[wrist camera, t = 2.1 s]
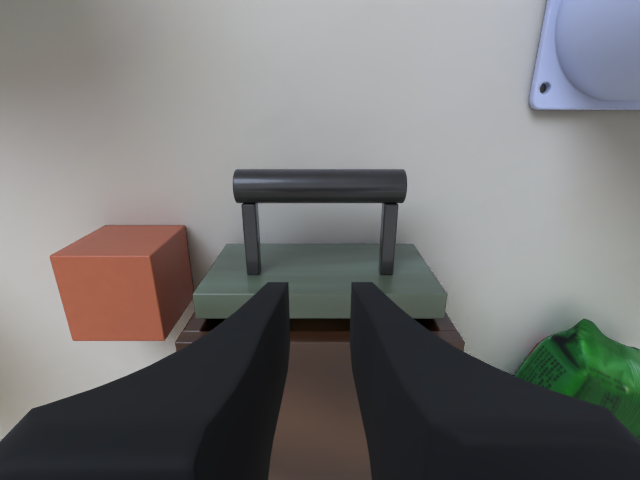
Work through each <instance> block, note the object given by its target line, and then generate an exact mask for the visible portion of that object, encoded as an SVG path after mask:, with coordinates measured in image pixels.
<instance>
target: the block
mask: <svg viewBox="0 0 640 480" xmlns="http://www.w3.org/2000/svg"><path fill="white" fill-rule="evenodd" d="M50 260H51V263H52V267H53V271H54V274H55V278H56V282H57V285H58V289H59V292H60V296H61V300H62V303H63V307H64V311H65V314H66V318H67V321H68V325H69V329H70V332H71V336H72V340H73V341H164V340H165V339H166V338H167V336H168V335H169V333H170V332H171V330H172V329H173V327H174V326H175V324H176V323H177V321H178V320H179V318H180V317H181V315H182V314H183V312H184V311H185V309H186V308H187V306H188V305H189V303H190V302H191V300H192V299H193V293H194V290H193V282H192V275H191V267H190V260H189V252H188V245H187V237H186V230H185V226H184V225H105V226H103V227H101V228H100V229H98V230H96V231H94V232H92V233H90V234H89V235H87V236H85V237H83V238H81V239H79V240H78V241H76V242H74V243H72V244H70V245H69V246H67V247H65V248H63V249H61V250H59V251H58V252H56V253H54V254H52V255H50Z"/></svg>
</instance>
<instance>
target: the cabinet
mask: <svg viewBox="0 0 640 480" xmlns="http://www.w3.org/2000/svg"><path fill="white" fill-rule="evenodd" d="M224 320H226V319H197V318H196V315H195V312H194V313H193V315H192V317H191V318H190V320H189V322H188V323H187V325H186V327H185V328H184V330H183V332H181V334H180V336H179V337H178V339H177V340H176V342H175V345H176V351H179V350H181V349H183V348H184V347H186V346H188V345H189V344H191V343H193V342H194V341H196V340H197V339H199V338H201V337H202V336H204V335H205V334H207V333H208V332H210V331H211V330H213V329H214V328H215V327H217V326H218V325H219V324H220V323H222V322H223V321H224ZM414 320H416V321H417V322H418V323H420V324H421V325H422V326H424V327H425V328H426V329H428V330H429V331H431V332H432V333H434V334H435V335H437V336H438V337H440V338H441V339H443V340H445V341H446V342H448V343H449V344H451V345H453V346H454V347H456V348H458V349H459V350H461V351H463V350H464V344H465V342H464V341H463V339H462V337H461V336H460V334H459V332H457V330H456V328H455V326H454V325H453V323H452V322H451V320H450V318H449V317H448V315H447V313H446V312H445V315H444V318H443V319H414ZM268 480H372V477H371V468H370V459H369V452H368V446H367V440H366V436H365V431H364V426H363V421H362V416H361V412H360V407H359V402H358V397H357V393H356V388H355V383H354V378H353V373H352V365H351V353H350V331H290V353H289V365H288V373H287V378H286V383H285V388H284V392H283V397H282V402H281V407H280V411H279V416H278V421H277V426H276V431H275V435H274V440H273V446H272V452H271V458H270V467H269V476H268Z"/></svg>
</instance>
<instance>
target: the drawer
mask: <svg viewBox="0 0 640 480" xmlns="http://www.w3.org/2000/svg"><path fill="white" fill-rule="evenodd" d="M406 192H407V176H406V172H405V170H403V169H237V170H235V172H234V176H233V193H234V198H235V201H236V202H237V203H243V204H242V217H243V230H244V243H245V244H226V246H225V247H224V249H223V250H222V252H221V253H220V255H219V256H218V258H217V259H216V261H215V262H214V263H213V265H212V266H211V268H210V269H209V271H208V272H207V274H206V275H205V277H204V278H203V280H202V281H201V282H200V284H199V285H198V287H197V288H196V290H195V291H194V293H193V300H194V308H195V315H196V318H197V319H227V318H228V317H229V316H231V315H232V314H233V313H234V312H236V311H237V310H238V309H239V308H240V307H241V306H243V305H244V304H245V303H246V302H247V301H248V300H249V299H250V298H251V297H252V296H253V295H254V294H256V293H257V292H258V291H259V290H260V289H261V288H262V287H263V286H264V285H265V284H266V283H267V282H289V312H290V331H350V311H351V282H373V283H374V284H375V285H376V286H377V287H378V288H379V289H380V290H381V291H382V292H383V293H384V294H386V295H387V296H388V297H389V298H390V299H391V300H392V301H393V302H394V303H395V304H396V305H398V306H399V307H400V308H401V309H402V310H403V311H404V312H406V313H407V314H408V315H409V316H411V317H412V318H413V319H443V318H444V315H445V307H446V300H447V293H446V291H445V290H444V288H443V287H442V285H441V284H440V283H439V281H438V280H437V278H436V277H435V275H434V274H433V272H432V271H431V269H430V268H429V266H428V265H427V263H426V262H425V261H424V259H423V258H422V256H421V255H420V253H419V252H418V250H417V249H416V247H415V246H414V244H395V242H396V229H397V216H398V204H397V203H403V202H404V200H405V197H406ZM258 203H382V217H381V233H380V244H260V234H259V218H258Z"/></svg>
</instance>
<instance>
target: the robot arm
mask: <svg viewBox="0 0 640 480" xmlns="http://www.w3.org/2000/svg"><path fill="white" fill-rule="evenodd" d="M543 83H544V84H545V85H546V89H545V91H544V92H543V93H541V92H540V86H541V85H542V84H543ZM529 104H530V106H531V107H532V108H533V109H536V110H640V0H547V4H546V10H545V15H544V21H543V26H542V32H541V37H540V42H539V48H538V53H537V59H536V64H535V70H534V75H533V80H532V86H531V91H530V97H529ZM289 353H290V312H289V282H267V283H266V284H265V285H264V286H263V287H262V288H261V289H260V290H259V291H258V292H257V293H256V294H254V295H253V296H252V297H251V298H250V299H249V300H248V301H247V302H246V303H245V304H244V305H243V306H241V307H240V308H239V309H238V310H237V311H236V312H234V313H233V314H232V315H231V316H229V317H228V318H227V319H226V320H224V321H223V322H222V323H220V324H219V325H218V326H217V327H215V328H214V329H213V330H211V331H210V332H208V333H207V334H205V335H204V336H202V337H201V338H199V339H197V340H196V341H194V342H193V343H191V344H189V345H188V346H186V347H184V348H183V349H181V350H179V351H177V352H175V353H173V354H171V355H169V356H167V357H165V358H163V359H161V360H160V361H158V362H156V363H154V364H152V365H150V366H148V367H146V368H143V369H141V370H139V371H137V372H134V373H132V374H130V375H127V376H125V377H122V378H120V379H117V380H115V381H112V382H110V383H108V384H105V385H102V386H100V387H97V388H94V389H91V390H89V391H85V392H82V393H79V394H76V395H73V396H70V397H67V398H64V399H61V400H58V401H55V402H52V403H49V404H46V405H43V406H40V407H36V408H33V409H31V410H30V411H29V412H28V413H27V414H26V415H25V416H24V417H23V418H22V419H21V420H20V422H19V423H18V424H17V425H16V426H15V427H14V428H13V429H12V430H11V431H10V432H9V433H8V434H7V435H6V436H5V437H4V438H3V439H2V440H1V441H0V480H268V476H269V467H270V458H271V452H272V446H273V440H274V435H275V431H276V426H277V421H278V416H279V411H280V407H281V402H282V397H283V392H284V388H285V383H286V378H287V373H288V365H289ZM350 353H351V365H352V373H353V378H354V383H355V388H356V393H357V397H358V402H359V407H360V412H361V416H362V421H363V426H364V431H365V436H366V440H367V446H368V452H369V459H370V468H371V477H372V480H640V442H639V440H638V439H637V438H636V437H635V436H634V435H633V434H632V433H631V432H630V431H629V430H628V429H627V428H626V427H625V426H624V425H623V424H622V423H621V422H620V421H619V420H618V419H617V417H616V416H615V415H614V414H613V413H612V412H611V411H610V410H609V409H607V408H605V407H602V406H598V405H595V404H592V403H589V402H586V401H583V400H580V399H577V398H574V397H571V396H567V395H564V394H561V393H558V392H555V391H552V390H549V389H546V388H544V387H541V386H538V385H536V384H533V383H531V382H528V381H526V380H523V379H521V378H518V377H516V376H513V375H511V374H508V373H506V372H504V371H502V370H499V369H497V368H495V367H493V366H491V365H489V364H487V363H485V362H483V361H481V360H479V359H477V358H475V357H472V356H470V355H469V354H467V353H465V352H463V351H461V350H459V349H458V348H456V347H454V346H453V345H451V344H449V343H448V342H446V341H445V340H443V339H441V338H440V337H438V336H437V335H435V334H434V333H432V332H431V331H429V330H428V329H426V328H425V327H424V326H422V325H421V324H420V323H418V322H417V321H416V320H414V319H413V318H412V317H411V316H409V315H408V314H407V313H406V312H404V311H403V310H402V309H401V308H400V307H399V306H398V305H396V304H395V303H394V302H393V301H392V300H391V299H390V298H389V297H388V296H387V295H386V294H384V293H383V292H382V291H381V290H380V289H379V288H378V287H377V286H376V285H375V284H374V283H373V282H351V311H350Z"/></svg>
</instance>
